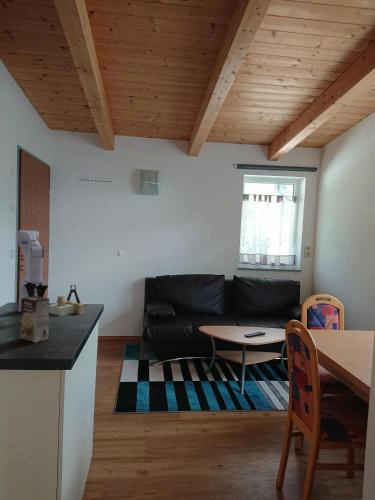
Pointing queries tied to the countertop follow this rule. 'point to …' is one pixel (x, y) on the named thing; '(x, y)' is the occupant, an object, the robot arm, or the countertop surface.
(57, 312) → the socket block
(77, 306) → the oak wall
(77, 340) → the countertop surface
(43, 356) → the countertop surface
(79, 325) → the countertop surface
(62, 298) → the dowel
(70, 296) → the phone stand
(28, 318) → the coffee box
